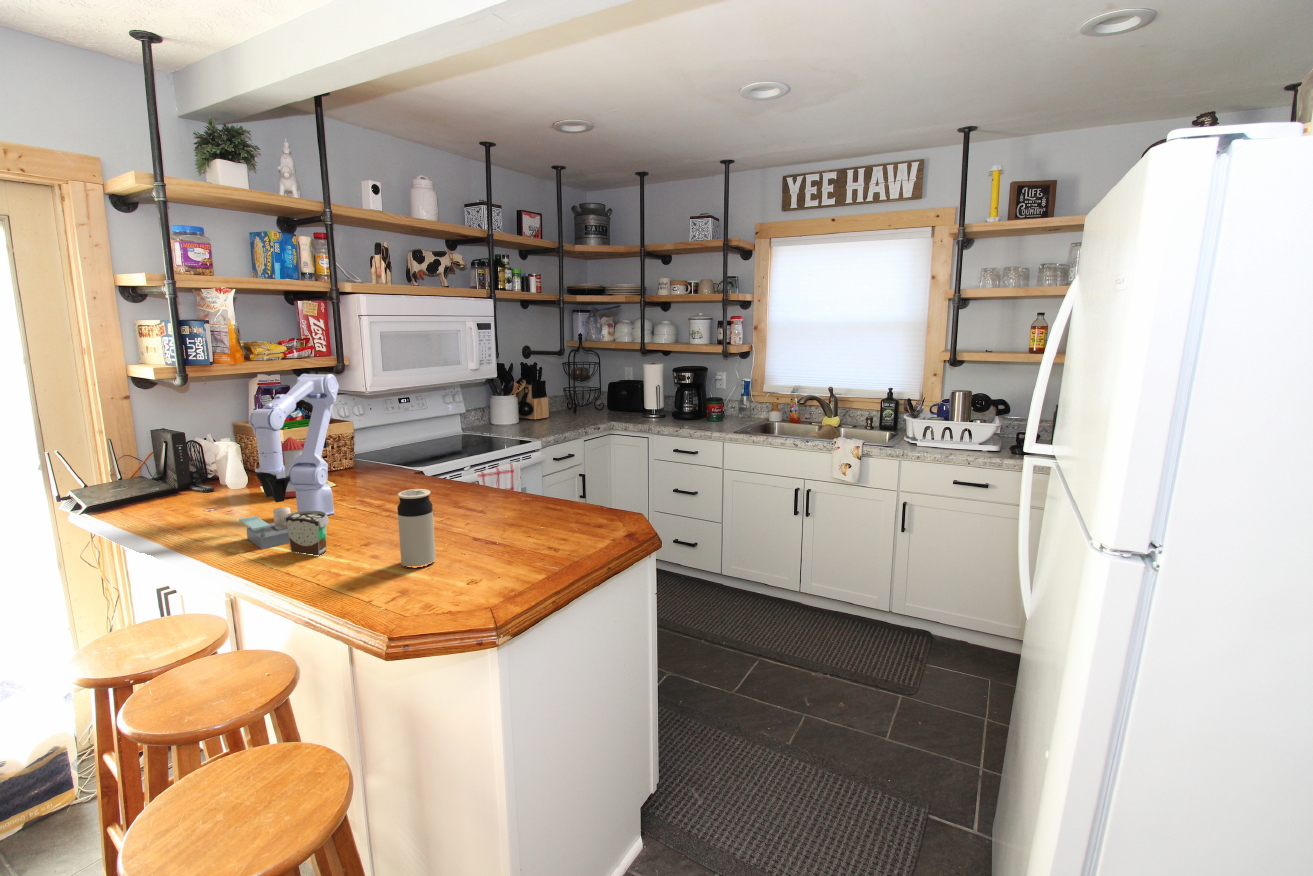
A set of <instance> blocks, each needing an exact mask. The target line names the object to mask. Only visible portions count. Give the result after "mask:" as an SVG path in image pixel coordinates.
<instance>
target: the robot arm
mask: <svg viewBox="0 0 1313 876" xmlns="http://www.w3.org/2000/svg"><path fill="white" fill-rule="evenodd" d="M339 388H340V385H339V383H338V380H337V378H336V376H335V375H334V374H332V373H327V374H315V373H313V374H311V373H310V374H309V373H302V374H300V376H299V377H297V378H296V383H295V384H294V385H293V387H291V389H290V390H288V392H287V393H286V394H285V393H281V394H276V395H275V396H274V398H273V399H272V400H271V401H269V402H268V403H266V404H265V405H264V407H262V408H257V409H255V410H253V411H252V413H251V414H250V416H249V420H248V423H249V425H250V427H251V428H252V431H253V435H254V436H256V445H257V455H258V462H259V465H258V466H259V467H258V468H255V469H254V472H255V476H256V478H257V479H258V481H259V482H260V485H261V486H262V490H263V493H264V495H265V498H270V497H273V499H274V501H275V503H276V504H277V503H282V502H285V500H286V497H285V495H286V489H287V485H288V483H290V485H292V486H293V488H294V489H295V490H296V497H295V499H296V509H297V512H300V511H322V512H325V513H326V515H327V516H330V515H334V514H336V512H335V507H334V498H333V497H334V496H333V491H332V487H331V486H330V485H329V484H328V483H327V481H328V478H329V474H328V473H329V472H328V471H329V468H328V467H329V463H327V462H326V460H324V459H323V457H322V454H323V451H324V446H325V442H326V437H327V432H328V429H329V424H330V421H331V415H332V411H333V406H334V404H335V403H336V401H337V396H338V391H339ZM302 399H305V400H306V402H307V403H309V404H310V405H312V411H311V414H310V420H309V422H308V428H307V432H306V435H305V440H304V442H305V444H304V448H303V452H302V455H300V456H299V457H297V458H296V459H294V460H293V462H292V465H291V467H290V469H289V470H288V473H287V476H285V471H284V469H285V467H284V465H283V455H282V446H281V443H282V439H281V429H282V428H283V426H284V423H285V420H286V419H287V417H288V416H289V415H290V414H291V413H293V412H295V409H297V403H298V402H300V401H302ZM326 483H327V484H326Z"/></svg>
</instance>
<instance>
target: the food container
mask: <svg viewBox="0 0 1313 876" xmlns="http://www.w3.org/2000/svg"><path fill="white" fill-rule="evenodd" d="M328 516H329V515H326V513H325V512H322V511H300V512H298V511H296V512H295V511H294V512H290V513H289V514H285V517H284V522H286V527H287V532H288V538H289V543H288V544H289V548H290V553H292V552H297V553H296V554H298V552H299V553H306V554H313V555H319V556H320V555H322V554H324V553H325V552H326V553H327V525H328V524H329V523H330V520H329V517H328ZM326 553H325V554H326ZM325 554H324V555H325ZM322 556H323V555H322ZM320 557H321V556H320Z"/></svg>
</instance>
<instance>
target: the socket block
mask: <svg viewBox="0 0 1313 876" xmlns="http://www.w3.org/2000/svg"><path fill="white" fill-rule="evenodd" d="M238 521H239V522H240V523H242V524H243V525H244V526H246V527H247V528H246V536H247V538H246V539H247V540H248V541H250V542H251V543H253V544H254V545H256V546H257V547H258V546H259V547H258V548H259V549H261V550H265V549H269V547H270V548H274V547H277V546H282V545H285V544H286V545H287V544H290V543H289V538H288V532H287V529H285V530H280V531H275V524H274V522H271V523H268V522H266V521H265V520H263V519H262V518H260V517H259V516H257V515H252V516H248V517H241V518H239V519H238Z"/></svg>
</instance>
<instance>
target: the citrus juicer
mask: <svg viewBox="0 0 1313 876" xmlns="http://www.w3.org/2000/svg"><path fill="white" fill-rule="evenodd" d="M304 444H305V441H298V440H296V439H295V438H293V437H292V436H288V437H287V438H286V439H285V440H284V441H283V442H281V446H282V455H283V465H284V467H285V469H284V471H285V476H287V473H288V470H289V469H290V467H291V465H292V462H293V460H294V459H296V458H297V457H299V456H300V455H302V452H303V448H304ZM285 498H296V490H295V489H294V488H293V486H292V485H290V483H288V485H287V489H286V495H285Z"/></svg>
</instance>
